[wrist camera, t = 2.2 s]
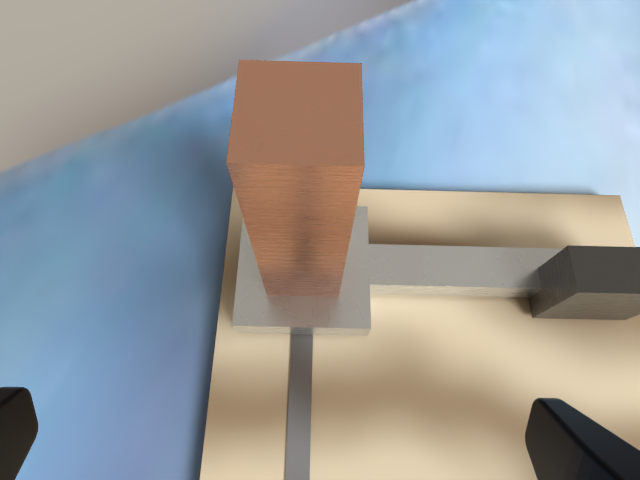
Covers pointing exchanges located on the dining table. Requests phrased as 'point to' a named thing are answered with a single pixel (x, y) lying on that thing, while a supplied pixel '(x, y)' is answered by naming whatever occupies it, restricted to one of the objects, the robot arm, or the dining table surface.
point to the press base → (424, 358)
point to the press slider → (352, 223)
